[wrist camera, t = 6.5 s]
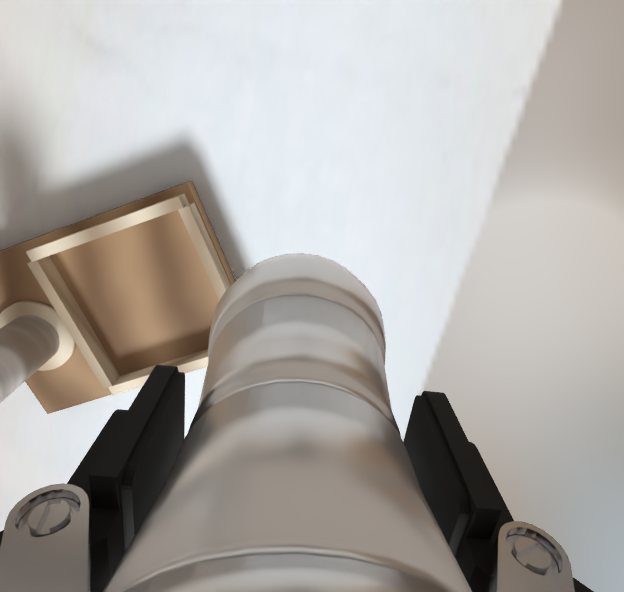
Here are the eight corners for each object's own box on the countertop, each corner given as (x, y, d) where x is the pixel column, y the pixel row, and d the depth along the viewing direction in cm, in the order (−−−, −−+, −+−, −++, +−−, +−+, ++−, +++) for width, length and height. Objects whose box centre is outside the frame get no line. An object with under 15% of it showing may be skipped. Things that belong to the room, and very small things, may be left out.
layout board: (191, 180, 32) (134, 207, 22) (261, 342, 36) (241, 425, 26) (-40, 265, 34) (-188, 324, 24) (55, 405, 39) (-36, 503, 29)
